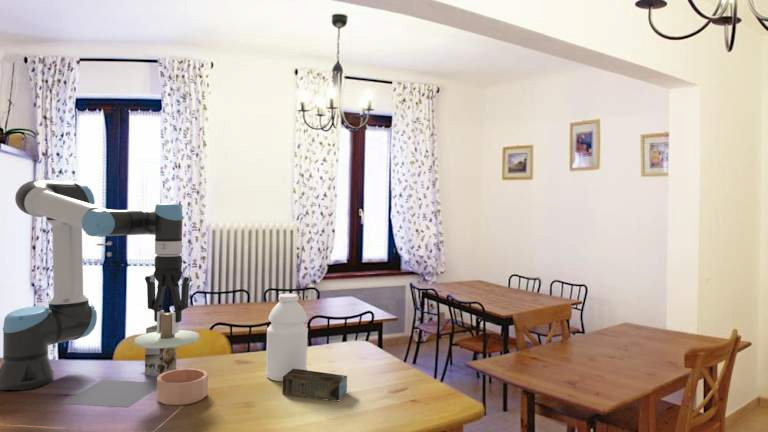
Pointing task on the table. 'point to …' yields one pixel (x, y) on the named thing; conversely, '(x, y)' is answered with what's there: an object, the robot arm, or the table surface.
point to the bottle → (286, 338)
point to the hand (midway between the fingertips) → (167, 332)
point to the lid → (166, 336)
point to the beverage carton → (314, 384)
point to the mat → (112, 393)
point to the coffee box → (159, 358)
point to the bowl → (182, 386)
